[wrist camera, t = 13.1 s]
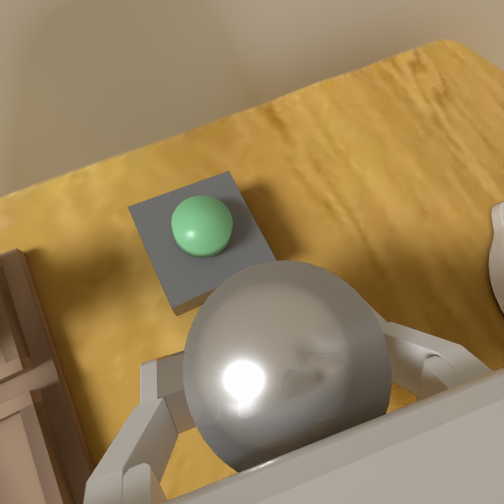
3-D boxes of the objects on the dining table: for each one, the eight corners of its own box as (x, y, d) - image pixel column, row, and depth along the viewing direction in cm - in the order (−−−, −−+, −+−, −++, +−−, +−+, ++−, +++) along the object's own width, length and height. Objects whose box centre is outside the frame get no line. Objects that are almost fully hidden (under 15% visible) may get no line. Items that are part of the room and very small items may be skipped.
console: (225, 195, 28) (228, 170, 25) (266, 274, 27) (276, 260, 23) (138, 228, 26) (127, 206, 23) (176, 316, 24) (171, 308, 21)
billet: (261, 293, 18) (318, 228, 9) (309, 373, 17) (431, 400, 8) (182, 339, 17) (144, 322, 7) (227, 428, 16) (254, 544, 6)
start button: (214, 217, 26) (217, 187, 22) (235, 259, 26) (242, 236, 21) (169, 235, 25) (161, 207, 21) (189, 279, 25) (186, 260, 20)
